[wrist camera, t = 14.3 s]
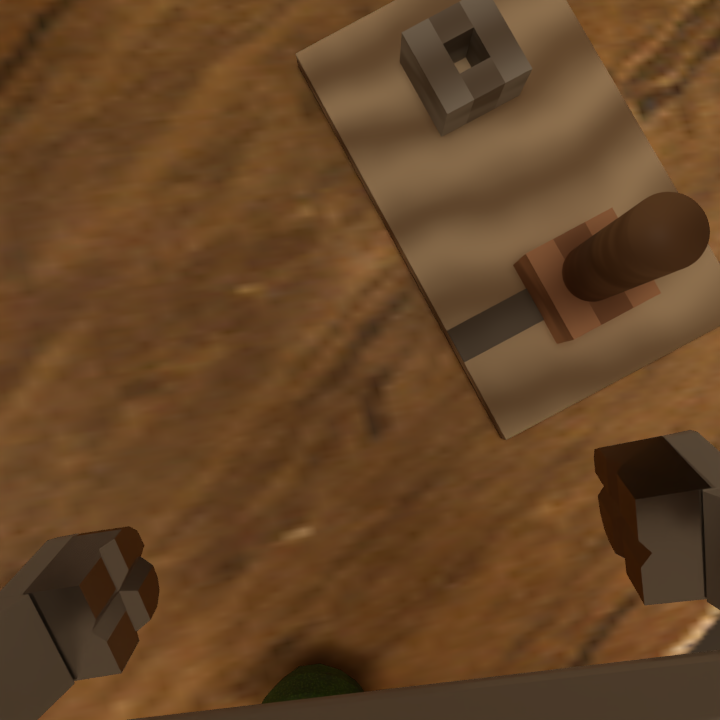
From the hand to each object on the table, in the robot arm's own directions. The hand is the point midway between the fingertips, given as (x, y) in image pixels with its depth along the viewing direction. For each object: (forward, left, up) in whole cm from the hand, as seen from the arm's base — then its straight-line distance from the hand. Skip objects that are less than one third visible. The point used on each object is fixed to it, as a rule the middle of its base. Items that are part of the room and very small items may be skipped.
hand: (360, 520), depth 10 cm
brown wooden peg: (-2, +16, -27) cm, 32 cm away
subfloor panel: (-10, +16, -29) cm, 35 cm away
